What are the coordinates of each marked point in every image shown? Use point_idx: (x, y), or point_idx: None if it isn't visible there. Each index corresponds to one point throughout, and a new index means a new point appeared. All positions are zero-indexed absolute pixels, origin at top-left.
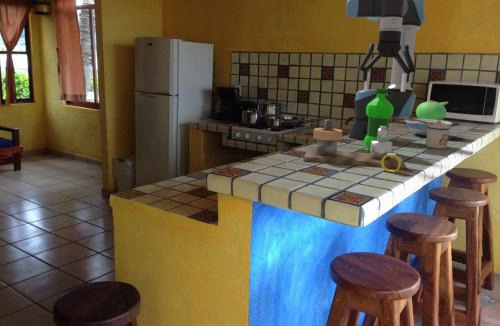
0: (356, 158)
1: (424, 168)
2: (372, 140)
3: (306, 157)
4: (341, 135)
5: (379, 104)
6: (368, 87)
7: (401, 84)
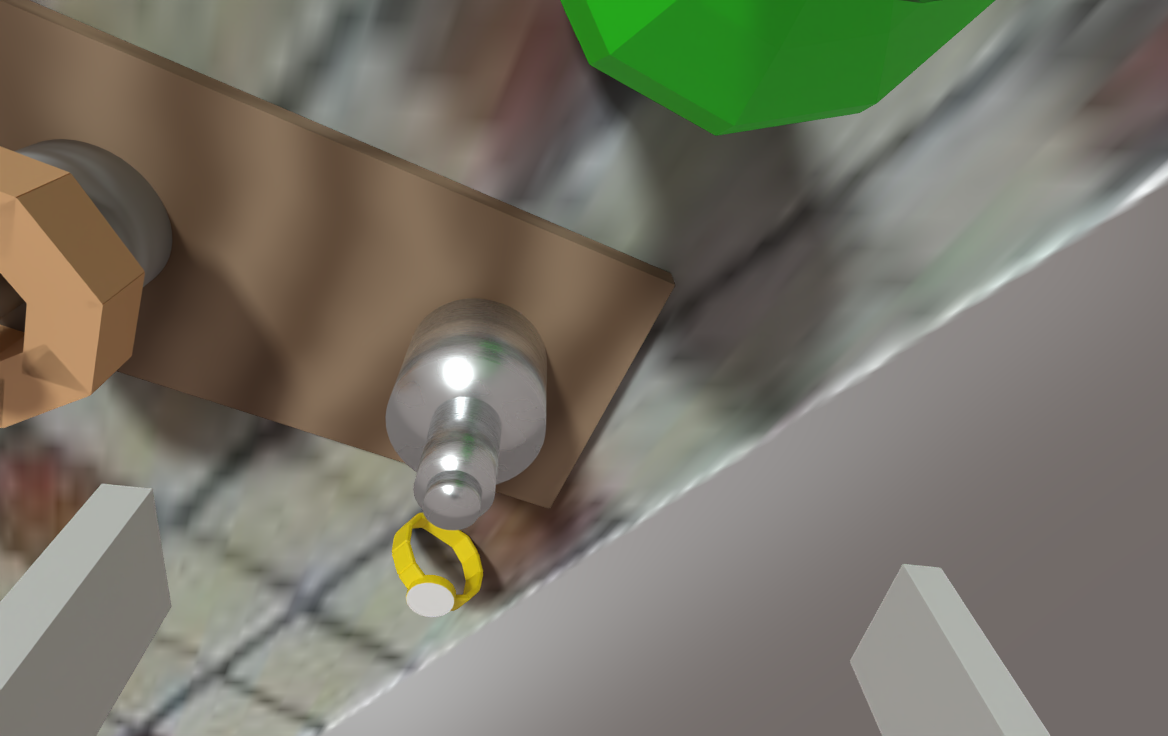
0: (303, 365)
1: (672, 488)
2: (407, 383)
3: None
4: (109, 375)
5: (677, 64)
6: (140, 656)
7: (964, 702)
